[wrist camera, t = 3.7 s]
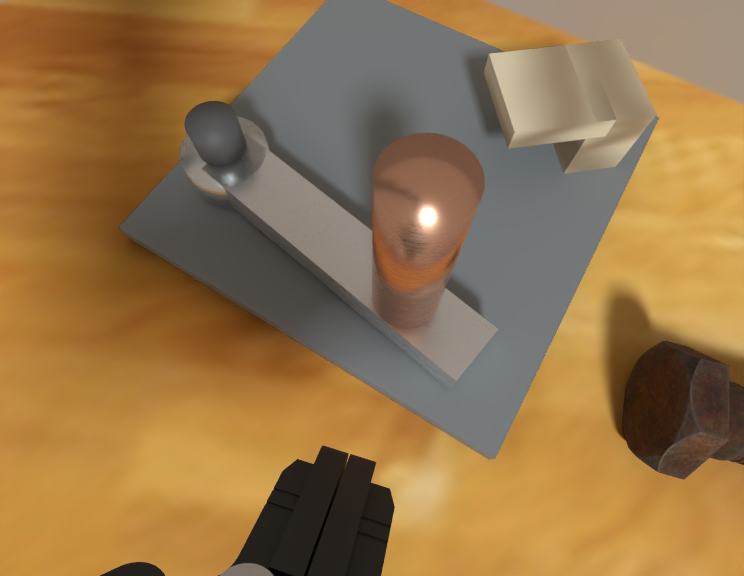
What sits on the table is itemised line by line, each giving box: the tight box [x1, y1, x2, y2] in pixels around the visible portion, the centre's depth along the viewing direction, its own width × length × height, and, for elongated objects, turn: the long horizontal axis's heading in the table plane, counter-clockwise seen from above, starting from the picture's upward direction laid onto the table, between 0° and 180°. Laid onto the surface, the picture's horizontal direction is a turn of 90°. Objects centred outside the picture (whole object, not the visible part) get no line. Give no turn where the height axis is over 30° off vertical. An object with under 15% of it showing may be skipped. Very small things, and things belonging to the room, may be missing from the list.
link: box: [180, 116, 498, 389], centre depth 19 cm, size 18×4×11 cm, turn 49°
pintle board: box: [118, 0, 659, 459], centre depth 25 cm, size 22×22×6 cm
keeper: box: [484, 39, 657, 173], centre depth 25 cm, size 7×5×4 cm
